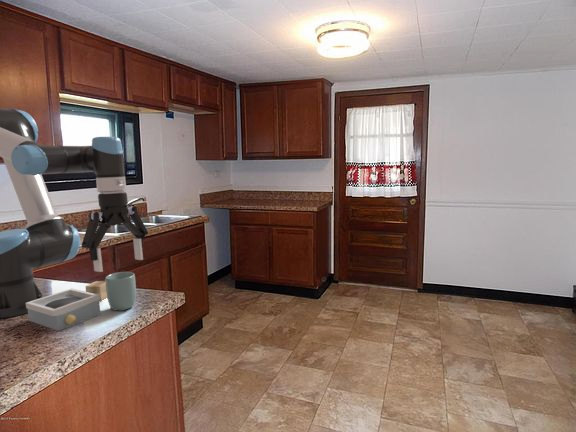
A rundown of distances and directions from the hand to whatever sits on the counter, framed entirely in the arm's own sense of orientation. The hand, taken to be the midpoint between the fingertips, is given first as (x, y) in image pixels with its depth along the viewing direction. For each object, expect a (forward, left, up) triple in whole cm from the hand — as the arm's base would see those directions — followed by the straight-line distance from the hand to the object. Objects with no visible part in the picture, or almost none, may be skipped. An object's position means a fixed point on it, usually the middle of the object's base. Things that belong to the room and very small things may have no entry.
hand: (119, 265), depth 112 cm
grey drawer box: (-9, -12, -13) cm, 20 cm away
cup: (0, 0, -13) cm, 13 cm away
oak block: (-14, +2, -13) cm, 20 cm away
